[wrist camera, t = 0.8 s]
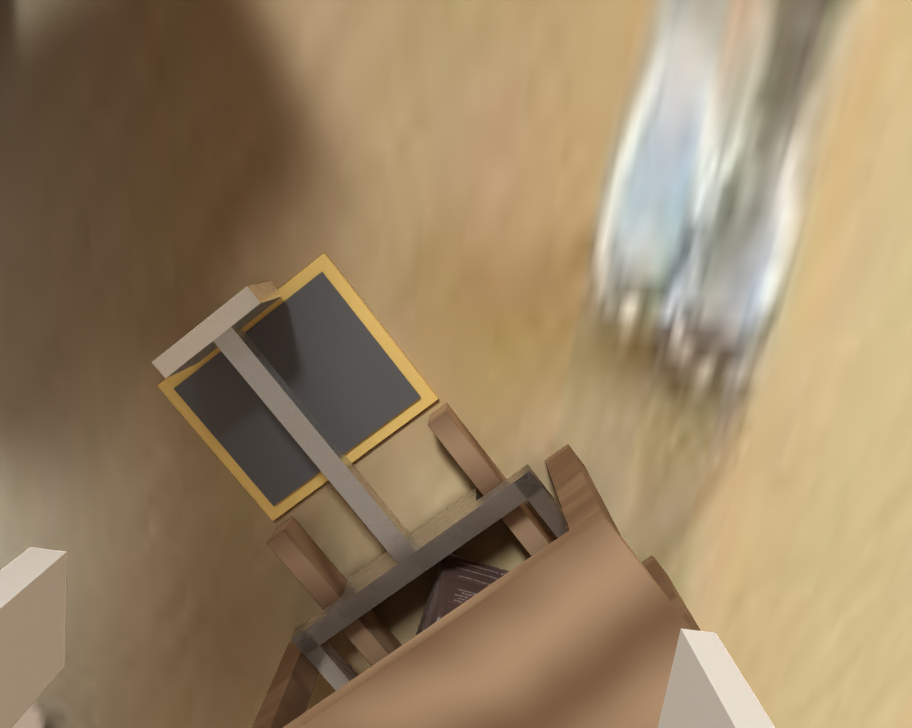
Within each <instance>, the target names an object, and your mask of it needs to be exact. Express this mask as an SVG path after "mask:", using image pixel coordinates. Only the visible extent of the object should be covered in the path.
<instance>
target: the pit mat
mask: <svg viewBox="0 0 912 728" xmlns="http://www.w3.org/2000/svg"><path fill="white" fill-rule="evenodd" d="M278 290H279V291H280V293H281V294H282V295H283V296H282V297H281V298H280V299H279V300H277V301H276V302H275V303H274V304H272V305H271V306H270V307H268V308H267V309H266V310H265V311H263V312H262V313H261V314H260V315H258V316H257V317H256V318H255V319H253V320H252V321H251V322H249V323H248V324H247V325H246V326H244V327H243V328H242V330H243V331H244V332H245V333H246V335H247V336H248V337H249V338H250V339H251V341H252V342H253V343H254V344H255V346H256V347H257V348H258V349H259V350H260V352H261V353H262V354H263V355H264V357H265V358H266V359H267V360H268V361H269V363H270V364H271V365H272V366H273V368H274V369H275V370H276V371H277V372H278V374H279V375H280V376H281V377H282V379H283V380H284V381H285V382H286V383H287V385H288V386H289V387H290V388H291V390H292V391H293V392H294V393H295V394H296V396H297V397H298V398H299V399H300V400H301V402H302V403H303V404H304V405H305V407H306V408H307V409H308V410H309V411H310V413H311V414H312V415H313V416H314V418H315V419H316V420H317V421H318V422H319V424H320V425H321V426H322V427H323V429H324V430H325V431H326V432H327V433H328V435H329V436H330V437H331V438H332V440H333V441H334V442H335V443H336V444H337V446H338V447H339V448H340V449H341V450H342V452H343V453H344V454H345V455H346V457H347V458H348V459H349V460H350V461H351V463H352V462H354V461H355V460H356V459H358V458H359V457H360V456H362V455H363V454H364V453H366V452H367V451H369V450H370V449H371V448H373V447H374V446H375V445H377V444H378V443H379V442H381V441H382V440H383V439H385V438H386V437H388V436H389V435H390V434H392V433H393V432H394V431H396V430H397V429H398V428H400V427H401V426H402V425H404V424H405V423H406V422H408V421H409V420H411V419H412V418H413V417H415V416H416V415H417V414H419V413H420V412H421V411H423V410H424V409H425V408H427V407H428V406H429V405H431V404H432V403H434V402H435V401H436V400H438V397H437V396H436V394H435V393H434V392H433V390H432V389H431V388H430V387H429V385H428V384H427V383H426V381H425V380H424V379H423V378H422V376H421V375H420V374H419V373H418V371H417V370H416V369H415V367H414V366H413V365H412V364H411V362H410V361H409V360H408V358H407V357H406V356H405V355H404V353H403V352H402V351H401V350H400V348H399V347H398V346H397V344H396V343H395V342H394V341H393V339H392V338H391V337H390V335H389V334H388V333H387V332H386V330H385V329H384V328H383V327H382V325H381V324H380V323H379V321H378V320H377V319H376V318H375V316H374V315H373V314H372V312H371V311H370V310H369V309H368V307H367V306H366V305H365V304H364V302H363V301H362V300H361V298H360V297H359V296H358V295H357V293H356V292H355V291H354V290H353V288H352V287H351V286H350V284H349V283H348V282H347V281H346V279H345V278H344V277H343V275H342V274H341V273H340V272H339V270H338V269H337V268H336V267H335V265H334V264H333V263H332V261H331V260H330V259H329V258H328V256H327V255H326V254H325V253H324V254H322V255H321V256H320V257H319V258H317V259H316V260H315V261H314V262H312V263H311V264H310V265H309V266H307V267H306V268H305V269H303V270H302V271H301V272H300V273H298V274H297V275H296V276H295V277H293V278H292V279H291V280H290V281H288V282H287V283H286V284H285V285H283V286H282V287H281V288H280V289H278ZM157 386H158V387H159V388H160V390H161V391H162V392H163V393H164V394H165V395H166V397H167V398H168V399H169V400H170V401H171V403H172V404H173V405H174V406H175V407H176V408H177V410H178V411H179V412H180V413H181V414H182V415H183V417H184V418H185V419H186V420H187V421H188V422H189V424H190V425H191V426H192V427H193V428H194V429H195V431H196V432H197V433H198V434H199V435H200V436H201V438H202V439H203V440H204V441H205V442H206V443H207V445H208V446H209V447H210V448H211V449H212V450H213V452H214V453H215V454H216V455H217V456H218V458H219V459H220V460H221V461H222V462H223V463H224V465H225V466H226V467H227V468H228V469H229V470H230V472H231V473H232V474H233V475H234V476H235V477H236V479H237V480H238V481H239V482H240V483H241V484H242V486H243V487H244V488H245V489H246V490H247V491H248V493H249V494H250V495H251V496H252V497H253V498H254V500H255V501H256V502H257V503H258V504H259V505H260V507H261V508H262V509H263V510H264V511H265V513H266V514H267V515H268V516H269V517H270V518H271V520H272V521H274V520H275V519H277V518H278V517H279V516H281V515H282V514H283V513H285V512H286V511H287V510H289V509H290V508H291V507H293V506H294V505H295V504H297V503H298V502H300V501H301V500H302V499H304V498H305V497H306V496H308V495H309V494H310V493H312V492H313V491H314V490H316V489H317V488H318V487H320V486H321V485H323V484H324V483H325V482H327V481H328V479H327V478H326V477H325V475H324V474H323V473H322V472H321V471H320V469H319V468H318V467H317V466H316V465H315V463H314V462H313V461H312V460H311V458H310V457H309V456H308V455H307V454H306V452H305V451H304V450H303V449H302V448H301V446H300V445H299V444H298V443H297V442H296V440H295V439H294V438H293V437H292V436H291V434H290V433H289V432H288V431H287V430H286V428H285V427H284V426H283V425H282V424H281V422H280V421H279V420H278V419H277V418H276V416H275V415H274V414H273V413H272V412H271V410H270V409H269V408H268V407H267V405H266V404H265V403H264V402H263V401H262V399H261V398H260V397H259V396H258V395H257V393H256V392H255V391H254V390H253V389H252V387H251V386H250V385H249V384H248V383H247V381H246V380H245V379H244V378H243V377H242V375H241V374H240V373H239V372H238V371H237V369H236V368H235V367H234V366H233V365H232V363H231V362H230V361H229V360H228V359H227V357H226V356H225V355H224V354H223V352H222V351H221V350H220V349H219V348H217V349H215V350H214V351H213V352H212V353H210V354H209V355H208V356H206V357H205V358H204V359H203V360H201V361H200V362H199V363H197V364H195V365H193V366H191V367H189V368H187V369H185V370H183V371H180V372H178V373H176V374H174V375H172V376H170V377H168V378H166V379H165V380H164V381H162V382H161V383H160V384H158V385H157Z"/></svg>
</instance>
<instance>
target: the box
mask: <svg viewBox="0 0 912 728" xmlns="http://www.w3.org/2000/svg"><path fill="white" fill-rule="evenodd" d="M508 572H509V571H507V570H504V569H499V568H496V567H493V566H489V565H486V564H482V563H479V562H476V561H472V560H470V559H465V558H463V557H460V556H456V555H452V554H449V555H448V556H446V557H445V558H444V559H442V560H441V561H440V562H439V565H438V568H437V572H436V575H435V578H434V581H433V584H432V587H431V590H430V593H429V596H428V599H427V602H426V605H425V608H424V612H423V615H422V618H421V622H420V624H419V628H418V631H417V634H416V635H418V634H419V633H421V632H422V631H424V630H425V629H427V628H428V627H429V626H431V625H432V624H434V623H435V622H437V621H438V620H440V619H441V618H443V617H444V616H445V615H447V614H448V613H450V612H451V611H453V610H454V609H456V608H457V607H459V606H460V605H461V604H463V603H464V602H466V601H467V600H469V599H470V598H472V597H473V596H475V595H476V594H477V593H479V592H480V591H482V590H483V589H485V588H486V587H488V586H489V585H490V584H492V583H493V582H495V581H496V580H498V579H499V578H501V577H502V576H504V575H505V574H506V573H508Z"/></svg>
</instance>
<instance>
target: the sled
mask: <svg viewBox="0 0 912 728" xmlns="http://www.w3.org/2000/svg"><path fill="white" fill-rule="evenodd" d="M282 296H283V295H282V294H281V293H280V291H279V290H278V289H277V288H276V286H275V285H274V284H273V283H272V281H267V282H263V283H259V284H254V285H250V286H246V287H245V288H244V289H242V290H241V291H240V292H239V293H237V294H236V295H235V296H234V297H232V298H231V299H230V300H229V301H227V302H226V303H225V304H224V305H222V306H221V307H220V308H219V309H217V310H216V311H215V312H214V313H212V314H211V315H210V316H209V317H207V318H206V319H205V320H204V321H202V322H201V323H200V324H199V325H197V326H196V327H195V328H194V329H192V330H191V331H190V332H189V333H187V334H186V335H185V336H184V337H182V338H181V339H180V340H179V341H177V342H176V343H175V344H174V345H172V346H171V347H170V348H169V349H167V350H166V351H165V352H164V353H162V354H161V355H160V356H159V357H157V358H156V359H155V360H154V361H152V363H153V365H154V366H155V367H156V368H157V369H158V370H159V372H160V373H161V374H162V375H163V376H164V378H165V379H166V378H168V377H170V376H172V375H174V374H176V373H178V372H180V371H183V370H185V369H187V368H189V367H191V366H193V365H195V364H197V363H199V362H200V361H201V360H203V359H204V358H205V357H206V356H208V355H209V354H210V353H212V352H213V351H214V350H215V349H217V348H219V349H220V350H221V351H222V352H223V354H224V355H225V356H226V357H227V359H228V360H229V361H230V362H231V363H232V365H233V366H234V367H235V368H236V369H237V371H238V372H239V373H240V374H241V375H242V377H243V378H244V379H245V380H246V381H247V383H248V384H249V385H250V386H251V387H252V389H253V390H254V391H255V392H256V393H257V395H258V396H259V397H260V398H261V399H262V401H263V402H264V403H265V404H266V405H267V407H268V408H269V409H270V410H271V412H272V413H273V414H274V415H275V416H276V418H277V419H278V420H279V421H280V422H281V424H282V425H283V426H284V427H285V428H286V430H287V431H288V432H289V433H290V434H291V436H292V437H293V438H294V439H295V440H296V442H297V443H298V444H299V445H300V446H301V448H302V449H303V450H304V451H305V452H306V454H307V455H308V456H309V457H310V458H311V460H312V461H313V462H314V463H315V465H316V466H317V467H318V468H319V469H320V471H321V472H322V473H323V474H324V475H325V477H326V478H327V479H328V480H329V481H330V483H331V484H332V485H333V486H334V487H335V489H336V490H337V491H338V492H339V493H340V495H341V496H342V497H343V498H344V499H345V501H346V502H347V503H348V504H349V505H350V507H351V508H352V509H353V510H354V512H355V513H356V514H357V515H358V516H359V518H360V519H361V520H362V521H363V522H364V524H365V525H366V526H367V527H368V528H369V530H370V531H371V532H372V533H373V534H374V536H375V537H376V538H377V539H378V540H379V542H380V543H381V544H382V545H383V546H384V548H385V549H386V550H387V551H386V552H384V553H383V554H381V555H380V556H379V557H377V558H376V559H374V560H373V561H372V562H370V563H369V564H367V565H366V566H365V567H363V568H362V569H360V570H359V571H358V572H356V573H355V574H353V575H352V576H351V577H349V579H348V582H347V585H346V588H345V591H344V594H343V596H342V597H340V598H339V599H337V600H336V601H335V602H333V603H332V604H330V605H329V606H327V607H326V608H325V609H323V610H322V611H320V612H319V613H318V614H316V615H315V616H313V617H312V618H311V619H309V620H308V621H306V622H305V623H304V624H302V625H301V626H299V627H298V628H296V629H295V632H294V634H293V636H292V638H291V640H292V641H293V643H294V644H295V645H296V646H297V647H298V648H299V649H300V651H301V652H302V653H303V654H304V655H305V656H306V657H307V659H308V660H309V661H310V662H311V663H312V664H313V665H314V666H315V668H316V669H317V670H318V671H319V672H320V673H321V674H322V676H323V677H324V678H325V679H326V680H327V681H328V682H329V684H330V685H331V686H332V687H333V688H334V689H335V690H338V689H339V688H341V687H342V686H344V685H345V684H347V683H348V682H350V681H351V680H352V679H354V678H355V677H357V676H358V675H357V674H356V673H355V671H354V670H353V669H352V668H351V667H350V666H349V665H348V663H347V662H346V661H345V660H344V659H343V658H342V656H341V655H340V654H339V653H338V652H337V651H336V650H335V648H334V647H333V646H332V645H331V644H330V643H329V641H328V639H330V638H331V637H332V636H334V635H335V634H337V633H338V632H339V631H341V630H342V629H344V628H345V627H347V626H348V625H349V624H351V623H352V622H354V621H355V620H357V619H358V618H359V617H361V616H362V615H364V614H365V613H367V612H368V611H369V610H371V609H372V608H374V607H375V606H377V605H378V604H379V603H381V602H382V601H384V600H385V599H387V598H388V597H389V596H391V595H392V594H394V593H395V592H397V591H398V590H399V589H401V588H402V587H404V586H405V585H406V584H408V583H409V582H411V581H412V580H414V579H415V578H416V577H418V576H419V575H421V574H422V573H424V572H425V571H426V570H428V569H429V568H431V567H432V566H434V565H435V564H436V563H438V562H439V561H441V560H442V559H444V558H445V557H446V556H448V555H449V554H451V553H452V552H454V551H455V550H456V549H458V548H459V547H461V546H462V545H464V544H465V543H466V542H468V541H469V540H471V539H472V538H473V537H475V536H476V535H478V534H479V533H481V532H482V531H483V530H485V529H486V528H488V527H489V526H491V525H492V524H493V523H495V522H496V521H498V520H499V519H501V518H502V517H503V516H505V515H506V514H508V513H509V512H511V511H512V510H513V509H515V508H516V507H518V506H519V505H521V504H522V503H523V502H525V501H526V500H528V501H529V502H530V503H531V505H532V506H533V507H534V509H535V510H536V511H537V512H538V514H539V515H540V516H541V518H542V519H543V520H544V521H545V523H546V524H547V525H548V527H549V528H550V529H551V530H552V532H553V533H554V534H555V535H556V537H557V538H559V537H560V536H562V535H563V534H565V533H566V532H568V531H569V530H570V529H569V527H568V524H567V521H566V518H565V515H564V513H563V510H562V508H561V507H560V506H559V504H558V503H557V502H556V500H555V499H554V498H553V497H552V495H551V494H550V493H549V491H548V490H547V489H546V487H545V486H544V485H543V484H542V482H541V481H540V480H539V478H538V477H537V476H536V475H535V473H534V472H533V471H532V469H531V468H530V467H529V465H526V466H525V467H523V468H522V469H521V470H519V471H518V472H516V473H515V474H514V475H512V476H511V477H509V478H508V479H507V480H505V481H504V482H502V483H501V484H499V485H498V486H497V487H495V488H494V489H492V490H491V491H490V492H488V493H487V494H485V495H484V496H482V495H481V493H480V492H479V491H478V490H477V488H476V487H475V488H474V489H473V490H471V491H470V492H468V493H467V494H466V495H464V496H463V497H461V498H460V499H459V500H457V501H456V502H454V503H453V504H452V505H450V506H449V507H447V508H446V509H445V510H443V511H442V512H440V513H439V514H438V515H436V516H435V517H433V518H432V519H431V520H429V521H428V522H426V523H425V524H424V525H422V526H421V527H419V528H418V529H417V530H415V531H414V532H412V533H411V534H410V533H409V532H408V531H407V530H406V529H405V527H404V526H403V525H402V524H401V522H400V521H399V520H398V519H397V518H396V516H395V515H394V514H393V513H392V511H391V510H390V509H389V508H388V507H387V505H386V504H385V503H384V502H383V500H382V499H381V498H380V497H379V496H378V494H377V493H376V492H375V491H374V490H373V488H372V487H371V486H370V485H369V483H368V482H367V481H366V480H365V479H364V477H363V476H362V475H361V474H360V472H359V471H358V470H357V469H356V468H355V466H354V465H353V464H352V463H351V461H350V460H349V459H348V458H347V457H346V455H345V454H344V453H343V452H342V450H341V449H340V448H339V447H338V446H337V444H336V443H335V442H334V441H333V440H332V438H331V437H330V436H329V435H328V433H327V432H326V431H325V430H324V429H323V427H322V426H321V425H320V424H319V422H318V421H317V420H316V419H315V418H314V416H313V415H312V414H311V413H310V411H309V410H308V409H307V408H306V407H305V405H304V404H303V403H302V402H301V400H300V399H299V398H298V397H297V396H296V394H295V393H294V392H293V391H292V390H291V388H290V387H289V386H288V385H287V383H286V382H285V381H284V380H283V379H282V377H281V376H280V375H279V374H278V372H277V371H276V370H275V369H274V368H273V366H272V365H271V364H270V363H269V361H268V360H267V359H266V358H265V357H264V355H263V354H262V353H261V352H260V350H259V349H258V348H257V347H256V346H255V344H254V343H253V342H252V341H251V339H250V338H249V337H248V336H247V335H246V333H245V332H244V331H243V330H242V328H243V327H244V326H246V325H247V324H248V323H249V322H251V321H252V320H253V319H255V318H256V317H257V316H258V315H260V314H261V313H262V312H263V311H265V310H266V309H267V308H268V307H270V306H271V305H272V304H274V303H275V302H276V301H277V300H279V299H280V298H281V297H282Z"/></svg>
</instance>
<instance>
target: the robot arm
mask: <svg viewBox="0 0 912 728" xmlns="http://www.w3.org/2000/svg"><path fill="white" fill-rule="evenodd" d="M66 583H67V551H60V550H52V549H44V548H36V547H29V548H28V549H27V550H25V551H24V552H23V553H22V554H20V555H19V556H18V557H16V558H15V559H14V560H12V561H11V562H10V563H9V564H7V565H6V566H5V567H3V568H2V569H1V570H0V728H12V726H13V725H14V724H15V723H16V722H17V721H18V720H19V718H20V717H21V716H22V715H23V714H24V713H25V712H26V710H27V709H28V708H29V707H30V706H31V705H32V704H33V702H34V701H35V700H36V699H37V698H38V697H39V696H40V694H41V693H42V692H43V691H44V690H45V689H46V687H47V686H48V685H49V684H50V683H51V682H52V681H53V679H54V678H55V677H56V676H57V675H58V674H59V673H60V671H61V670H62V669H63V668H64V667H65V634H66ZM658 728H775V726H774V725H773V723H772V722H771V720H770V718H769V717H768V715H767V714H766V712H765V710H764V709H763V707H762V706H761V704H760V702H759V701H758V699H757V698H756V696H755V695H754V693H753V691H752V690H751V688H750V687H749V685H748V683H747V682H746V680H745V679H744V677H743V675H742V674H741V672H740V671H739V669H738V667H737V666H736V664H735V663H734V661H733V660H732V658H731V656H730V655H729V653H728V652H727V650H726V648H725V647H724V645H723V644H722V642H721V640H720V639H719V637H718V636H717V634H716V633H714V632H706V631H698V630H690V629H682V628H681V630H680V634H679V639H678V643H677V647H676V651H675V656H674V660H673V664H672V668H671V673H670V677H669V681H668V686H667V690H666V694H665V698H664V703H663V707H662V711H661V716H660V720H659V724H658Z"/></svg>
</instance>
